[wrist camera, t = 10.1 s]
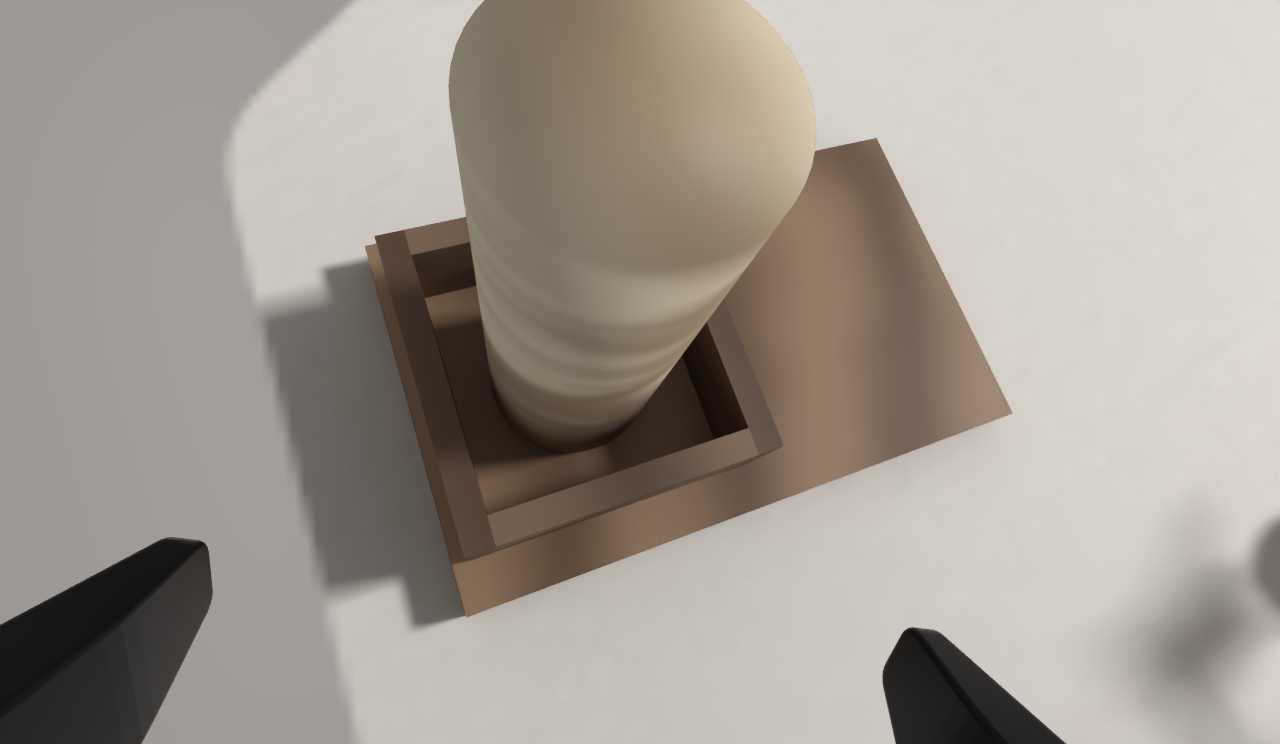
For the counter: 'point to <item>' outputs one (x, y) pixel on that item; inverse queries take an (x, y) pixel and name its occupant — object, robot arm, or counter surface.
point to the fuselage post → (616, 191)
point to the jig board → (693, 388)
